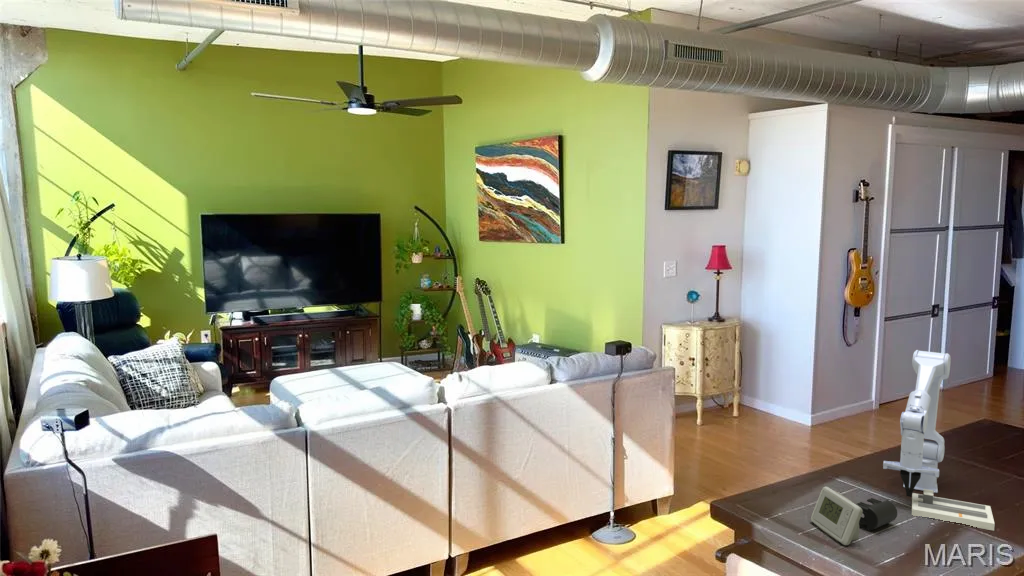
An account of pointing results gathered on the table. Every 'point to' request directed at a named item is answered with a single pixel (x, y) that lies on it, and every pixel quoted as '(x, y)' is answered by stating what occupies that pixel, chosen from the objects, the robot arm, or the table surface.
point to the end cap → (876, 513)
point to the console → (954, 511)
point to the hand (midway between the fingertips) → (908, 495)
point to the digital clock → (837, 516)
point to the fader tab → (928, 496)
